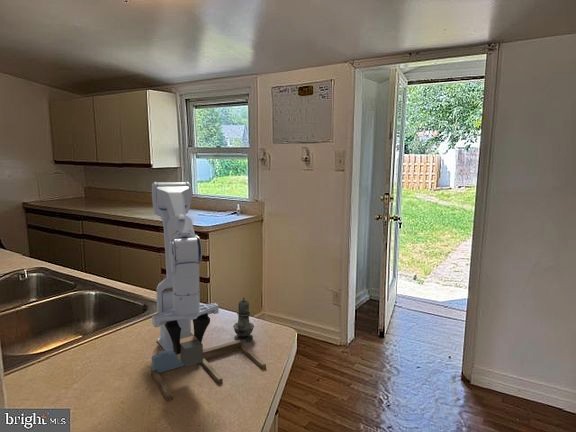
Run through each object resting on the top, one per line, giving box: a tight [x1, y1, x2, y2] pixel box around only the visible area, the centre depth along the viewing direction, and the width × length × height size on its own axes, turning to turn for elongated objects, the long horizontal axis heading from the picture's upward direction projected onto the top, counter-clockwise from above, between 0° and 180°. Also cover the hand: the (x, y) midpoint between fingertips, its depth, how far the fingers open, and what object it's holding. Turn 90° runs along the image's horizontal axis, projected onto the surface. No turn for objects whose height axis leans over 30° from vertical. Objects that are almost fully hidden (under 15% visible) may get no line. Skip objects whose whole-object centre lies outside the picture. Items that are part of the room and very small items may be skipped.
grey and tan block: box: [173, 331, 204, 367], centre depth 88 cm, size 8×4×4 cm, turn 35°
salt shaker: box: [232, 297, 255, 343], centre depth 110 cm, size 6×6×12 cm
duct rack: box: [151, 340, 267, 402], centre depth 93 cm, size 13×24×5 cm, turn 125°
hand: (187, 349), depth 88 cm, fingers closed on grey and tan block, 4 cm apart
